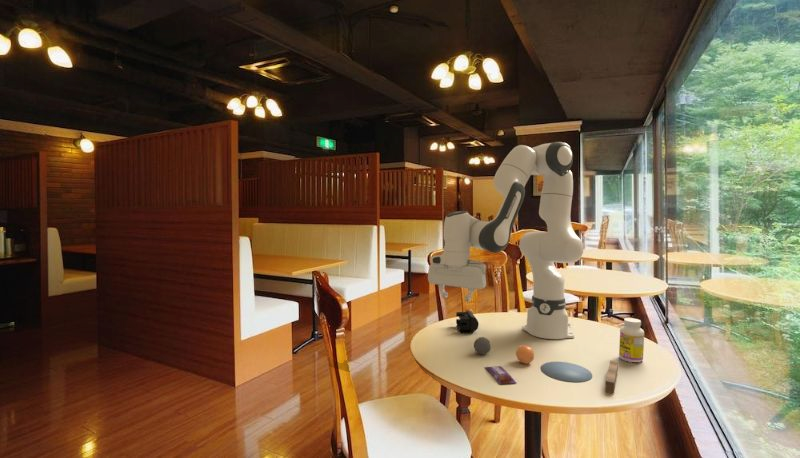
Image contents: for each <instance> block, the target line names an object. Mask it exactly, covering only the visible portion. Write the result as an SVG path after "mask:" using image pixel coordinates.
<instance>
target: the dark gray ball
mask: <svg viewBox="0 0 800 458" xmlns="http://www.w3.org/2000/svg"><path fill="white" fill-rule="evenodd" d="M473 348H474V350H475V352H476V353H477V354H479V355H481V356H482V355H486V354H488V353H489V352H490V350H491V348H492V345H491V342H490V341H489V339H488V338H486V337H483V336H481V337H478V338H476V339H475V340H474V342H473Z"/></svg>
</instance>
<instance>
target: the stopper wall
mask: <svg viewBox="0 0 800 458" xmlns="http://www.w3.org/2000/svg"><path fill="white" fill-rule="evenodd" d="M618 370H619V362H618V361H617V360H616V361H615V360H609V365H608V370H607V374H606V378H605V385H604V386H605V389H604V392H605V393H608V392H609V394H612V393H614V394H615V389H616V384H617V377H618V373H617V372H618Z"/></svg>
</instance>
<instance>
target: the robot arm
mask: <svg viewBox="0 0 800 458" xmlns="http://www.w3.org/2000/svg"><path fill="white" fill-rule="evenodd" d="M573 160H574V153H573V150H572V148H571V146H570V145H569V144H568V143H566V142H562V141H555V142H554V141H553V142H549V143H542V144H540V145H539V144H538V145H536V146H534V147H530V146H528V145H524V144H519V145H516V146H515V147H513V148H512V150H510V152H509V153H508V154H507V155H506V157H505V158H504V159H503V160H502V162H501V164H500V166H499V167H498V169H497V170H496V172H495V175H494V178H493V179H492V180H493V185H494V189H495V190H496V192H497V193H499V194H500V195H501V196H502V197H503V200H502V202H501V204H500V207H499V209H498V211H497V214H496V216H495V217H494V218H493V219H492V220H489V221H486V220H485V221H484V220H480V219H478V218H475V217H474V216H472V215H471V214H470V213H469V212H468V210H467V211H466V210H458V211H452V212H449V213H448V214H446V216H445V219H444V223H443V240H444V246H443V253H440V254H438V255H434V256H432V257H430V259H429V262H430V264H429V266H428V273H427V281H428V282H429V284H432V285H438V289H439V290H440V292H441V298H443V299H447V298H448V297H449V295H448V294H449V292H448V291H446V289H445V287H447V286H448V287H456V288H464V289H465V288H466V289H467V292H468V294H466V295H464V301H465V302H471V301H472V295H473V293H474V292H475V290H483V289H485V287H487V279H486V278H487V277H486V272H487V266H486V264H485V263H484V262H483V261H481V260H472V259H471V258H470V257H471V254H470V253H471V252H470V251H471V250H470V249H471V248H475V249H478V250H482V251H483V250H484V251H487V252H489V253H493V254H497V253H501V252H502V251H504V250H505V249H506V247H507V246H508V245H509V242H510V241H511V240H510V239H511V236H512V230H513V227H514V224H515V222H516V219H517V217H518V215H519V211H520V209H521V207H522V204H523V202H524V200H525V199H524V198H525V195H526V188H525V187H526V184H527V183H528V181H529V179H530V177H531V176H533V177H534V176H542V181H543V183H542V189H541V195H540V200H539V201H540V202H539V207H538V208H539V209H538V215H539V217H540V219H541V220H543V221H544V222H545V224H546V226H547V227H546V229H547V231H538V230H536V231H529V232H526V233H524V234H522V236H520V240H519V242H518V243H519V244H518V245H519V250H520V252H521V253H522V255H523V256H524V257H525V259H526V260H527V262H528V263H529V267H530V269H531V273H532V281H533V282H532V283H533V285H532V287H533V292H532V294H533V295H532V296H531V307H530V308H529V309H527V313H526V315H527V318H526V324H525V325H523V326H522V330H523V331H524V332H527V333H528V334H529V335H532V336H533V337H537V338H541V339H546V340H562V339H574V338H575V332H574V328H573V324H571V323H570V322H569V314H568V312H567V310H566V298H565V277H564V275H563V274H562V273H561V272H560V271H559V270H558V269H557V267H556V265H555V263H560V264H570V263H576V262H578V261H579V260H580V259H581V258H582V256H583V255H584V244H583V241H582V239H581V238H580V237H579V236H578V235H577V233H576V232H575V231H574V229H573V225H572V220H571V212H572V211H571V210H572V202H573V201H572V200H573V195H574V178H573V172H572V171H571V168H572V166H573Z"/></svg>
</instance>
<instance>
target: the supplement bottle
mask: <svg viewBox="0 0 800 458" xmlns="http://www.w3.org/2000/svg"><path fill="white" fill-rule="evenodd" d="M623 319H624V320H623V323H624V325H622V326H621V327H620V328H619V346H618V347H619V348H618V349H619V351H618V356H619V358H620V359H621V360H623V361H626V362H627V361H628V363H632V362H639V363H641V361H642V362H644V361H643V360H644V351H645V350H644V346H645V331H644V329H642V328H641V326H642V321H641V319H638V318H632V317H626V318H623Z"/></svg>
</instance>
